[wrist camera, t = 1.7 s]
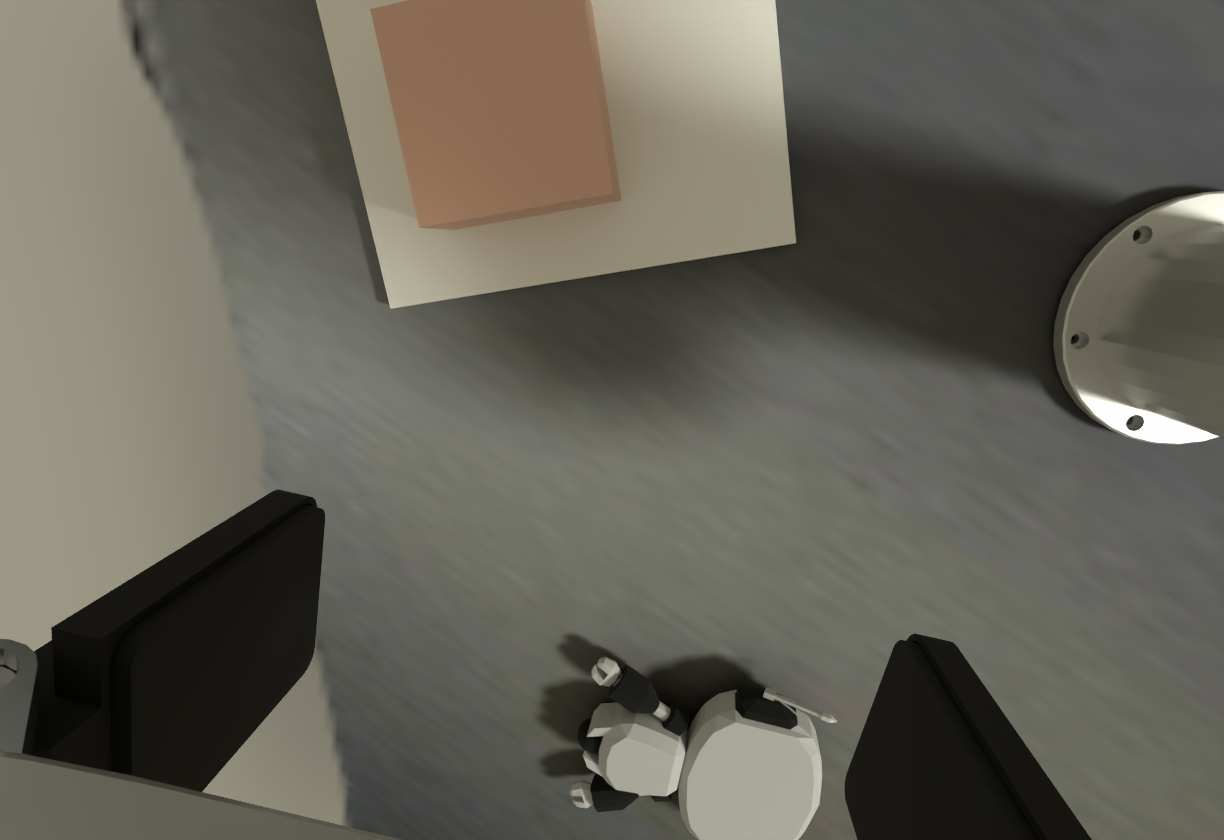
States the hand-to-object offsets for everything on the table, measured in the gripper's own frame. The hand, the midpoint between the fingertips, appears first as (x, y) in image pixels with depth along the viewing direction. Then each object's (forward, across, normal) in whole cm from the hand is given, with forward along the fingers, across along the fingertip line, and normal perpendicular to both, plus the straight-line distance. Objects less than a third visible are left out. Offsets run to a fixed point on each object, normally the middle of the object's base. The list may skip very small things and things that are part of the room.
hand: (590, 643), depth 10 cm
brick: (+26, +9, -10) cm, 30 cm away
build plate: (+27, +7, -11) cm, 30 cm away
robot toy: (+28, -8, +24) cm, 37 cm away
